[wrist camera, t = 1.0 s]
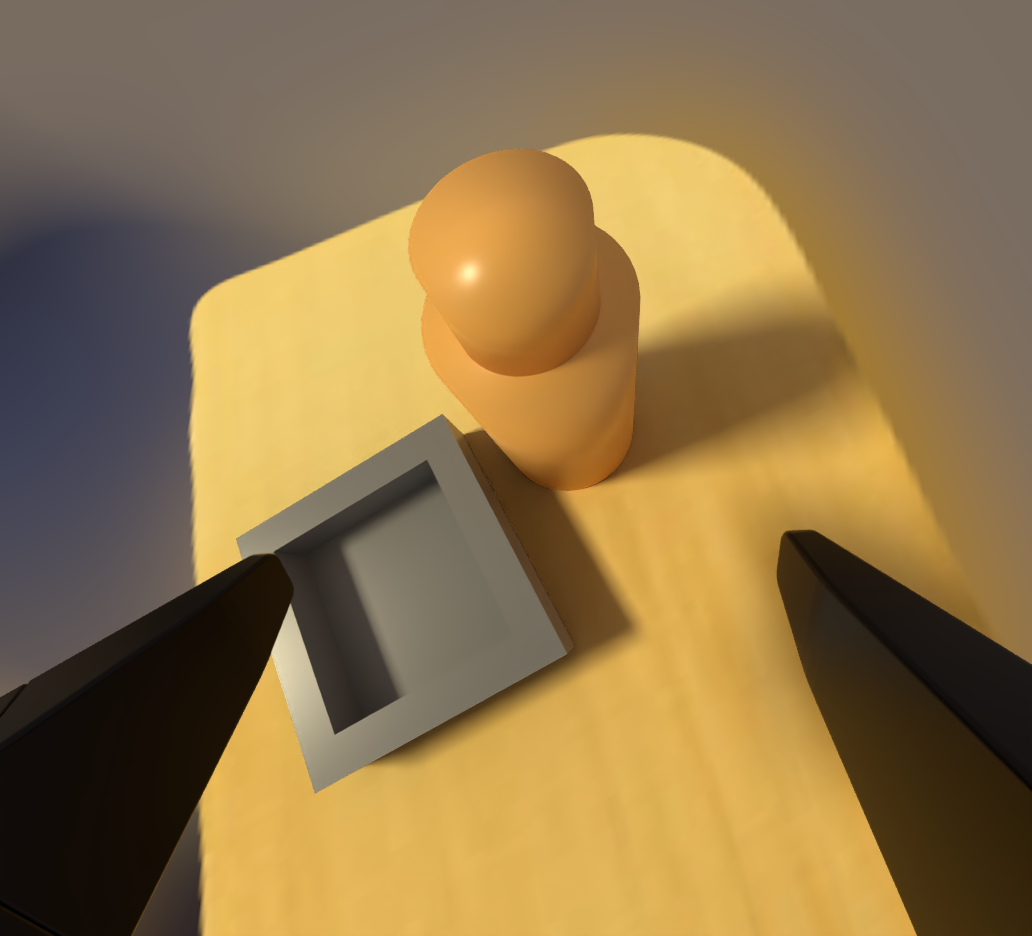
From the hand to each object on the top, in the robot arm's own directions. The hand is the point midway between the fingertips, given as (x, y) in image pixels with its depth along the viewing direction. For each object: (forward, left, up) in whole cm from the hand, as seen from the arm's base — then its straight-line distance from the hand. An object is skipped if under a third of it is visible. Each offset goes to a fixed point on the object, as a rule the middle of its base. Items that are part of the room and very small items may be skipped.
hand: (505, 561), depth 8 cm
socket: (+3, +7, -13) cm, 15 cm away
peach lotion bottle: (+6, -3, -13) cm, 15 cm away
